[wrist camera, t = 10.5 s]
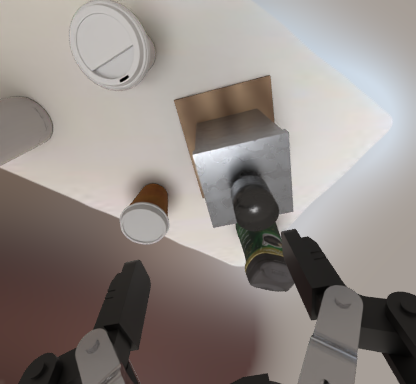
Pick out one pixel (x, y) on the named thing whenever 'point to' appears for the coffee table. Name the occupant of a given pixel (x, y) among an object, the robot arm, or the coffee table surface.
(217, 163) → the silver block with slot
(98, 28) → the coffee cup
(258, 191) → the plunger
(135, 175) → the coffee table surface
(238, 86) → the walnut board
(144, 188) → the disposable coffee cup
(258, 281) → the coffee jar
